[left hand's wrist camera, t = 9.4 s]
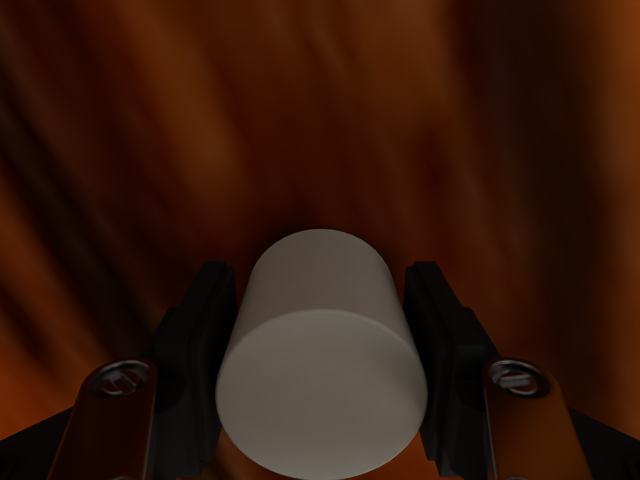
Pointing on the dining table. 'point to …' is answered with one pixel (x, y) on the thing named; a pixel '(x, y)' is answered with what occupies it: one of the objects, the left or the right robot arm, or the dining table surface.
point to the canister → (321, 361)
